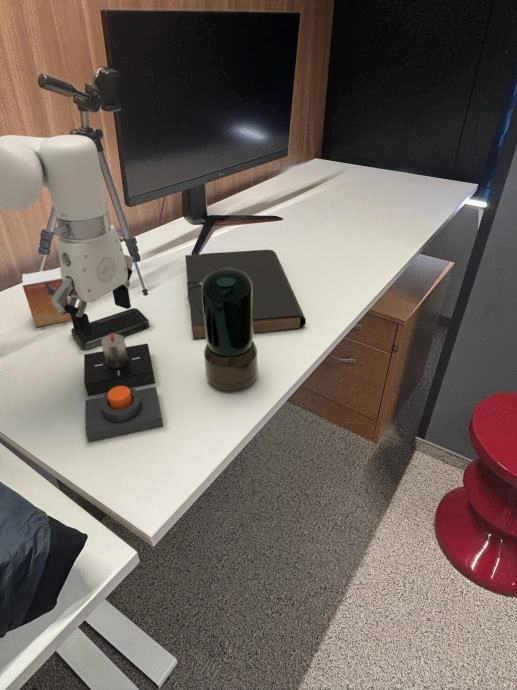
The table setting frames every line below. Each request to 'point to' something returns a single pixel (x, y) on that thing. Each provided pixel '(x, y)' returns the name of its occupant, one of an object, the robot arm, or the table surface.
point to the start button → (119, 397)
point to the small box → (44, 296)
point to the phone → (112, 327)
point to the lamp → (229, 329)
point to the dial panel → (118, 371)
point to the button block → (122, 415)
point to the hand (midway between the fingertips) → (104, 319)
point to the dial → (115, 351)
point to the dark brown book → (268, 289)
